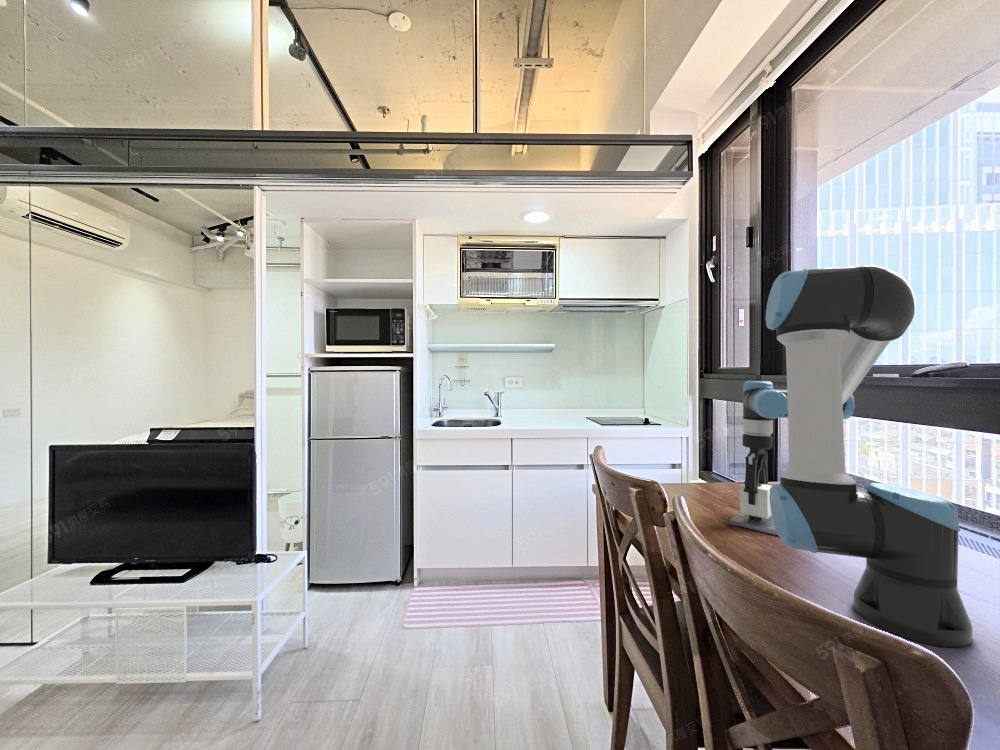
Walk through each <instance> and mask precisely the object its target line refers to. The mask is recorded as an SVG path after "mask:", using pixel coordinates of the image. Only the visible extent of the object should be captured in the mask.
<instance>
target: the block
mask: <svg viewBox="0 0 1000 750" xmlns="http://www.w3.org/2000/svg"><path fill="white" fill-rule="evenodd" d="M772 485H773V484H772ZM772 485H771V484H760V483H758V490H757V491H758V492H757V493H759V497H758V517H761V518H766V519H768V518H769V517H770V516H771V515H772V513H771V508H770V500H769V495H770V488H771V486H772ZM739 487H740V488H739V513H742V514H747V492H744V489H745V480H744V481H743V483H742V484H741V485H739ZM750 488H751V487H750Z"/></svg>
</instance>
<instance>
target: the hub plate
mask: <svg viewBox="0 0 1000 750" xmlns="http://www.w3.org/2000/svg"><path fill="white" fill-rule="evenodd" d="M729 524H730V525H733V526H737V527H742V528H746V529H750V530H754V531H759V532H762V533H766V534H769V535H770V534H771V535H774V536H778V537H780V536H779V534H778V532H777V530H776V527H775V524H774V521H773V518H772V515H771V516H770V517H769V518H768V519H766V518H761V517H756V516H752V515H747V514H742V513H740V512H739V513H737V514H735V516H733V517H732V518H730V519H729Z"/></svg>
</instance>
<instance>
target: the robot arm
mask: <svg viewBox="0 0 1000 750" xmlns="http://www.w3.org/2000/svg"><path fill="white" fill-rule="evenodd" d="M916 303H917V302H916V297H915V294H914V291H913V289H912V286H911V285H910V284H909V283H908V281H907V280H906V279H905V277H903V276H902V275H901V274H899V273H897V272H895V271H893V270H892V269H889V268H886V267H884V266H883V267H882V266H877V265H860V266H848V267H847V266H846V267H845V266H844V267H827V268H826V267H825V268H822V267H821V268H803V269H796V270H788V271H784V272H782V273H780V274H779V275H778V276H777V278H775V280H774V282H773V283H772V286H771V289H770V291H769V295H768V299H767V301H766V309H765V323H766V324H765V326H766V328H767V329H768V330H771V331H775V330H776V340H777V341H778V342H779V343H780V344H782V345H783V346H785V356H786V357H785V360H786V361H785V362H786V389H781V388H780V389H779V388H777V389H774V384H773V382H772V381H769V380H767V381H764V380H763V381H761V380H760V381H758V380H757V381H756V380H746V381H745V382H744V383H743V386H742V387H743V389H742V393H741V394H742V421H741V422H740V424H741V425H742V432H743V434H742V442H741V444H742V446H743V447H745V448H749V452H748V453H747V455H746V456H745V478H744V481H745V489H744V492H747V515H752V516H756V517H758V497H759V493H757V492H758V491H757V490H758V483H760V484H766V485H769V476H768V475H769V473H768V472H769V470H768V469H769V467H768V464H769V463H768V460H769V458H768V457H769V456H768V455H769V453H768V451H766V450H771V449H772V448H773V442H774V441H773V436H772V434H773V433H774V420H775V419H778V418H780V419H781V418H782V419H783V418H785V419H787V430H788V431H787V432H788V437H787V438H788V442H787V443H788V468H787V469H785V470H784V471H782V473H780V475H779V476H780V477H779V482H780V483H775V484H772V486H771V488H770V495H769V500H770V508H771V513H772V518H773V521H774V524H775V527H776V530H777V532H778V534H779V536H778V537H779V539H780V540H781V541H782V542H783V543H784V544H785V545H786V546H787V547H789V548H791V549H793V550H794V549H795V550H800V551H805V552H810V553H812V554H816V553H821V554H827V555H828V554H829V555H836V556H838V555H839V556H847V557H855V558H863V559H866V562H865V563H866V564H865V569H864V570H863V573H862V575H861V577H860V579H859V582H858V583H857V586H856V587H855V590H854V591H853V602H852V603H853V608H854V609H855V611H856V612H857V613H858V614H859V615H860V616H861V617H862V618H864V619H865V620H867V621H868V622H870V623H872V624H873V625H875V626H877V627H878V628H881V629H882V630H885V631H887V632H890V633H892V634H894V635H897V636H900V637H902V638H905V639H909V640H912V641H916V642H919V643H923V644H928V645H931V646H932V645H933V646H937V647H938V646H939V647H943V648H944V647H946V648H947V647H948V648H963V647H966V646H969V645H971V644H972V642H973V625H972V622H971V619H970V617H969V615H968V612H967V610H966V607H965V605H964V602H963V600H962V597H961V594H960V592H959V590H958V575H959V574H958V571H959V570H958V568H959V567H958V566H959V565H958V563H959V532H960V531H961V528H960V523H959V517H958V516H959V515H958V514H959V513H958V509H957V508H956V506H955V505H954V504H953V503H952V502H950V501H949V500H947V499H945V498H943V497H940V496H937V495H935V494H931V493H928V492H924V491H920V490H917V489H914V488H909V487H903V486H899V485H896V484H895V485H894V484H888V483H882V482H869V483H868V484H867V486H866V487H865V490H866V491H861V490H860V491H858V488H857V481H856V480H855V479H854V478H853V477H851V476H850V475H849V474H848V473H847V471H846V459H845V456H846V455H845V434H844V432H845V431H844V429H845V427H844V420H847V419H850V418H851V417H852V416H853V415H854V410H855V407H856V403H855V397H854V395H853V393H854V392H855V391H856V390H857V388H858V387H859V385H860V384H861V383H862V382H863V379H864V378H865V377H866V376H867V374H868V373H869V371H870V370H871V368H872V367H873V366H874V364H875V363H876V362H877V360H878V359H879V357H880V356H881V354H883V352H884V351H885V349H886V347H887V346H888V345H889V344H890V342H892V341H895V340H898V339H900V338H901V337H902V336H903V335H904V334H905V333H906V331H907V329H908V328H909V327H910V325H911V324H912V322H913V319H914V316H915V313H916V305H917V304H916ZM773 419H774V420H773ZM750 487H751V488H750Z"/></svg>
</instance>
